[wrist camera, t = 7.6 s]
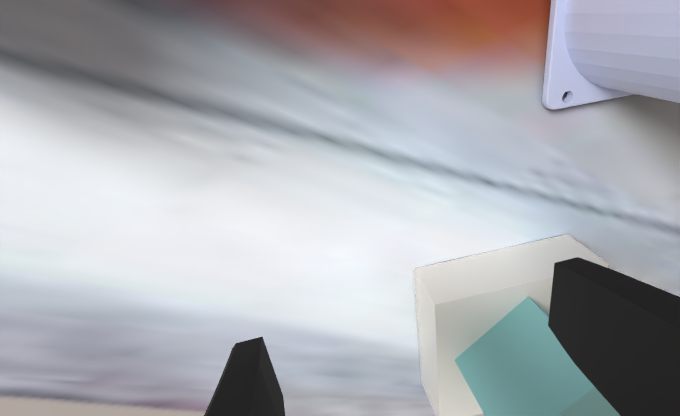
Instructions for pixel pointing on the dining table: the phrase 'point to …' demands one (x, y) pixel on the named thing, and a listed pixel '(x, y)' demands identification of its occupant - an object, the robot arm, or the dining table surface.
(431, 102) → the dining table surface
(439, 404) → the stone plinth
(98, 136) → the dining table surface
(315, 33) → the dining table surface
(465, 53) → the dining table surface
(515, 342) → the teal block
